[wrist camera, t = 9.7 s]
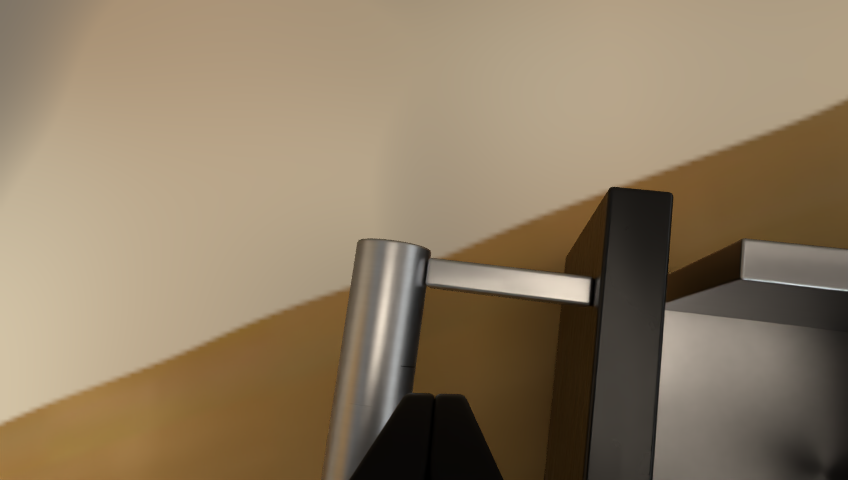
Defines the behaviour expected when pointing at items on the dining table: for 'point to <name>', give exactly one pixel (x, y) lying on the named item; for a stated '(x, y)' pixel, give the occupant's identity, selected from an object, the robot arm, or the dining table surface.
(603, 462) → the drawer with bar handle
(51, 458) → the dining table surface
